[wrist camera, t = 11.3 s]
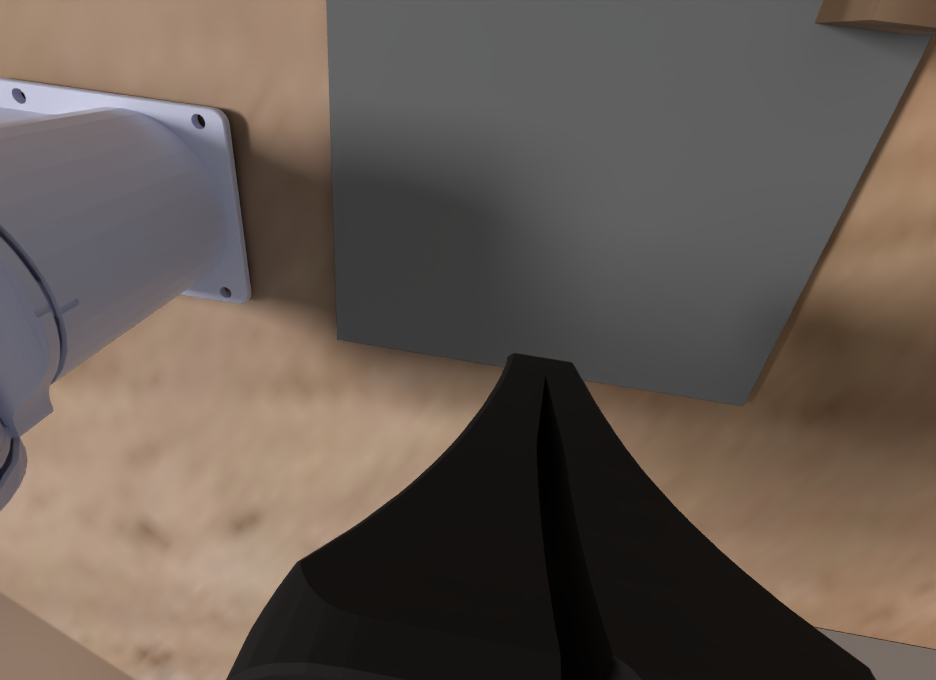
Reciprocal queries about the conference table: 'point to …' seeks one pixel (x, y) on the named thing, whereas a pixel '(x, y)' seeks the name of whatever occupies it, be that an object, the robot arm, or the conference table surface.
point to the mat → (596, 177)
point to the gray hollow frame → (888, 657)
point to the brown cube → (881, 15)
